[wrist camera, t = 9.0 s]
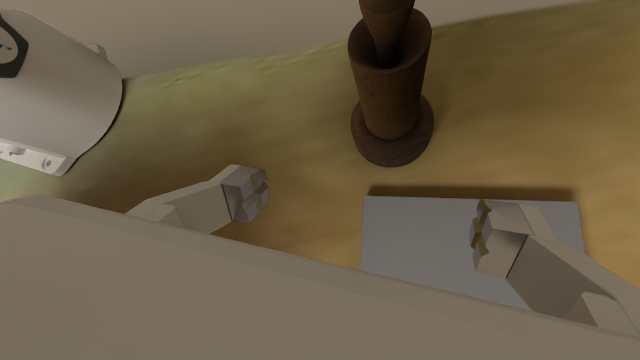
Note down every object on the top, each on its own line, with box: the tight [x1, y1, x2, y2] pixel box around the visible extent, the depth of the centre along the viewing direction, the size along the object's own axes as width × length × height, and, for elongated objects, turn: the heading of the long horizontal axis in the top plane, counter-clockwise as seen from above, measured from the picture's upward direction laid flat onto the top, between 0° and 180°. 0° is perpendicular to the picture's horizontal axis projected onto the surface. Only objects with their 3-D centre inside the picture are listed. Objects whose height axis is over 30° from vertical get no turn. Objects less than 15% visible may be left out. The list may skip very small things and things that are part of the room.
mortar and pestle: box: [348, 0, 434, 167], centre depth 15 cm, size 7×6×18 cm
